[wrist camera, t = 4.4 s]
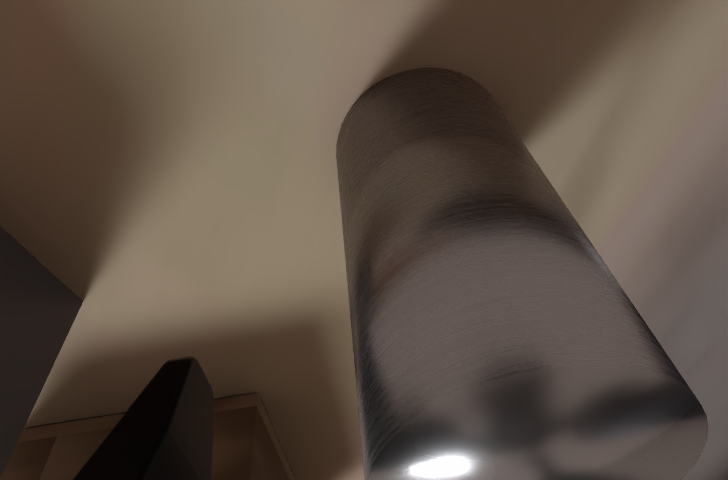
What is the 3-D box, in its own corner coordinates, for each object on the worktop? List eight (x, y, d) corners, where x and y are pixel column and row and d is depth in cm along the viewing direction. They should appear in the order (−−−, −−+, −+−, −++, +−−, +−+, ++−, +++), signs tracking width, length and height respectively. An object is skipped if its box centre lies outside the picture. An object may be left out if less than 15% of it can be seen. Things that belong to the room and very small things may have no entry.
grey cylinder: (507, 53, 11) (756, 339, 5) (502, 206, 14) (665, 527, 8) (322, 84, 11) (341, 403, 5) (349, 231, 14) (385, 568, 8)
